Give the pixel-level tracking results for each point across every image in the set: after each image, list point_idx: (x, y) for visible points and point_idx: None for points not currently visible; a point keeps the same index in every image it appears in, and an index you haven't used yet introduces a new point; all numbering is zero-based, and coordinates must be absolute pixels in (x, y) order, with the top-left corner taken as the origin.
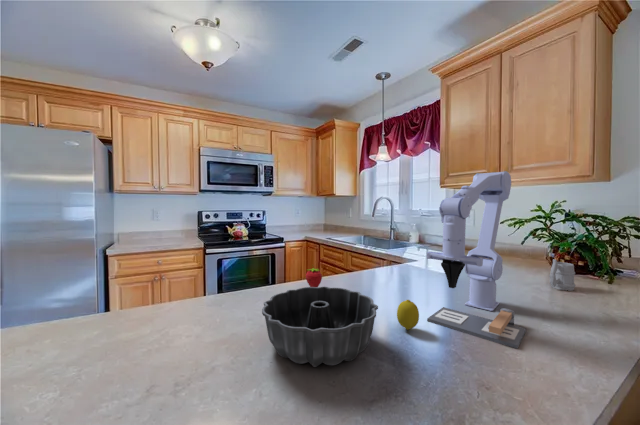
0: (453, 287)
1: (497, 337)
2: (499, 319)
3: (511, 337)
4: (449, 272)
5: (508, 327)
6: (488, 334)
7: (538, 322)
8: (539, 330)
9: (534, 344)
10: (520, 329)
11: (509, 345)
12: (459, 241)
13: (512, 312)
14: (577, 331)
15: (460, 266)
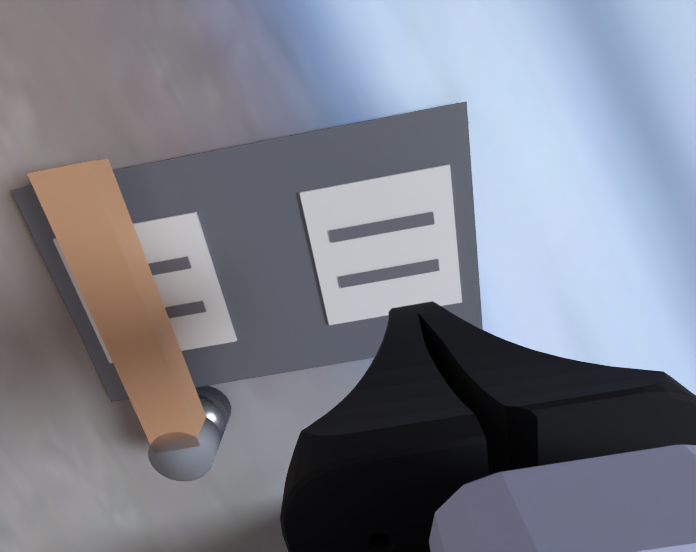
0: (391, 312)
1: None
2: (120, 306)
3: None
4: (465, 364)
5: None
6: (148, 193)
7: (150, 515)
8: (102, 447)
9: (25, 298)
10: (116, 376)
11: None
12: None
13: (152, 451)
14: (38, 537)
15: (284, 492)
